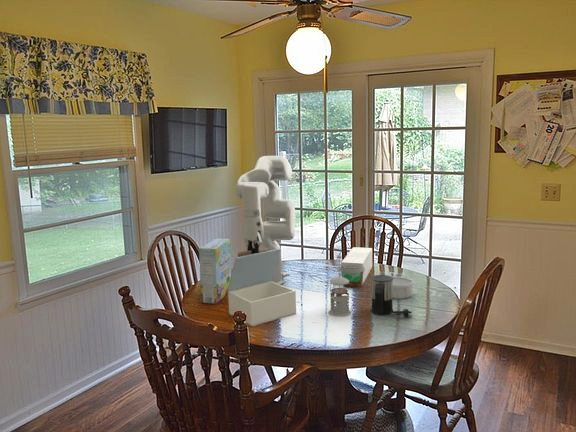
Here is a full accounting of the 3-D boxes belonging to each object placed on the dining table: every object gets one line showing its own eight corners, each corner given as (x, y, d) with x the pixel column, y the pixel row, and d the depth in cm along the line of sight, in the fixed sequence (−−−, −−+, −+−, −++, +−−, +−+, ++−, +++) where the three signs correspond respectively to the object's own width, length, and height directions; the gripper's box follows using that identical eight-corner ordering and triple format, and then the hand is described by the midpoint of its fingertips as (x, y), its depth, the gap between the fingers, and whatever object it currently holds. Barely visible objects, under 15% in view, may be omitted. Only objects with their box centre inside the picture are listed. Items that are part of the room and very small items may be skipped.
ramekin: (418, 294, 235) (418, 280, 234) (403, 302, 225) (403, 287, 224) (393, 288, 244) (393, 274, 242) (378, 296, 234) (378, 281, 233)
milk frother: (369, 307, 220) (369, 274, 217) (406, 307, 219) (407, 273, 217) (373, 320, 206) (374, 284, 203) (413, 319, 205) (413, 284, 203)
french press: (335, 318, 209) (334, 259, 204) (322, 309, 219) (321, 252, 215) (355, 314, 212) (355, 256, 208) (342, 305, 223) (341, 250, 218)
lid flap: (271, 280, 228) (265, 273, 231) (280, 249, 218) (274, 242, 221) (228, 291, 215) (222, 283, 218) (236, 258, 205) (230, 250, 208)
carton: (271, 302, 229) (271, 281, 227) (296, 313, 215) (295, 290, 213) (229, 314, 216) (228, 291, 215) (252, 326, 202) (251, 302, 200)
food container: (337, 287, 248) (336, 267, 246) (340, 283, 253) (340, 264, 251) (361, 290, 243) (361, 269, 241) (365, 286, 249) (365, 266, 247)
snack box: (218, 304, 229) (215, 248, 224) (200, 303, 230) (196, 248, 226) (233, 289, 249) (230, 237, 245) (216, 288, 251) (213, 237, 247)
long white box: (362, 284, 252) (362, 263, 250) (341, 283, 255) (341, 262, 253) (372, 267, 282) (372, 248, 280) (353, 265, 285) (353, 247, 283)
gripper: (270, 214, 209) (271, 258, 211) (248, 210, 221) (250, 252, 224) (254, 216, 204) (256, 261, 207) (234, 212, 217) (235, 254, 220)
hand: (253, 256), depth 216 cm, fingers closed on lid flap, 2 cm apart
